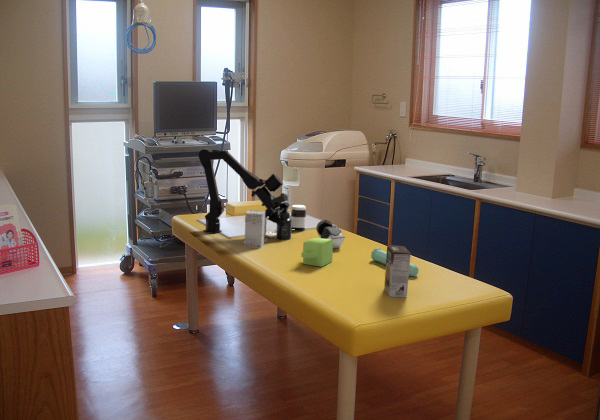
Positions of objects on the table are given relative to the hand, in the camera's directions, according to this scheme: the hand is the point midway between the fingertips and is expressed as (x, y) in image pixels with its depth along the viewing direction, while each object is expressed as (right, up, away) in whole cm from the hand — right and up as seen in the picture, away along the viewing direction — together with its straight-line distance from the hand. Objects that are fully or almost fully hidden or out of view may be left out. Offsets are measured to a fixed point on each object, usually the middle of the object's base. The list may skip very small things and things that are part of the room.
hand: (286, 224), depth 288 cm
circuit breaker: (-14, -8, -10) cm, 19 cm away
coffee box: (+39, -23, -68) cm, 82 cm away
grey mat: (-8, -5, +7) cm, 12 cm away
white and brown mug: (+3, -3, +22) cm, 23 cm away
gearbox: (+13, -15, -34) cm, 39 cm away
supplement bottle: (-2, -7, +2) cm, 7 cm away
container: (+44, -17, -38) cm, 60 cm away
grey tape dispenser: (+19, -9, -3) cm, 21 cm away
